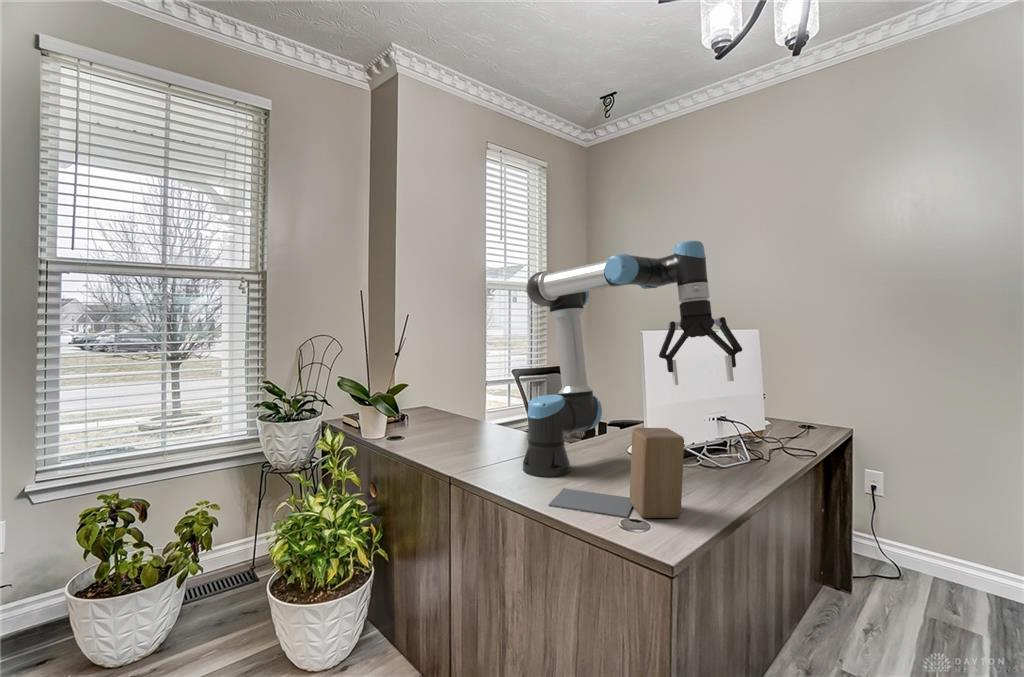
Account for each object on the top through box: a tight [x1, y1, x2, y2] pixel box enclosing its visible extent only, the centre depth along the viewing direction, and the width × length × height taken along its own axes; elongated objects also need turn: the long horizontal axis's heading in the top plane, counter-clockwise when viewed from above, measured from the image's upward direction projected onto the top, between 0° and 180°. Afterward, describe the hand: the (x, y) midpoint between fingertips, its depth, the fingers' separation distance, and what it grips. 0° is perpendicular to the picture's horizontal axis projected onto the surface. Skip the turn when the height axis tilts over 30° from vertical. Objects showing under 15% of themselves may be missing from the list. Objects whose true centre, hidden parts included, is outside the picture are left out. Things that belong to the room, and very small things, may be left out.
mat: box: [548, 487, 634, 519], centre depth 125 cm, size 20×13×1 cm, turn 67°
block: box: [629, 427, 685, 519], centre depth 119 cm, size 10×10×20 cm
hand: (703, 383), depth 123 cm, fingers open, 13 cm apart
